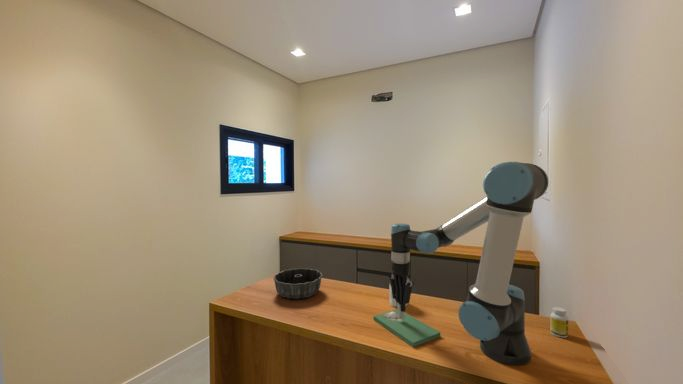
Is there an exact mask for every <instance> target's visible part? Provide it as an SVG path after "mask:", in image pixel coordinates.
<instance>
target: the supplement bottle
mask: <svg viewBox="0 0 683 384" xmlns="http://www.w3.org/2000/svg"><path fill="white" fill-rule="evenodd" d="M549 322H550V334H551V335H553V336H555V337H557V338H563V339H564V338H565V339H566V338H567V337H569V317H568V316H567V310H566V309H565V308H563V307H559V306H554V307H552V312H551V313H550V321H549Z"/></svg>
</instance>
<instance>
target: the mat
mask: <svg viewBox="0 0 683 384" xmlns="http://www.w3.org/2000/svg"><path fill="white" fill-rule="evenodd" d="M390 312H395V313H396V314H397V308H395V309H393V310H389V311H386V312H383V313H379V314H376V315H373V321H374V322H376V323H377V324H379V325H381V326H382V327H384V329H386V330H387V331H389V332H391V333H392V334H393V335H395V336H397V337H398V338H399V339H400V340H402V341H404V342H405V343H406V344H408V345H409V346H410V347H412V348H414V347H417V346H420V345H422V344H425V343H428V342H430V341H432V340H435V339H437V338H441V331H439V330H437V329H435V328H434V327H432V326H430V325H428V324H426V323H425V322H423V321H421V320H420V319H417V318H416V317H414V316H412V315H410V314H409V313H407V312H405V318H403V319H400V320H399V319H398V318H397V319H390V318H389V313H390Z"/></svg>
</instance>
